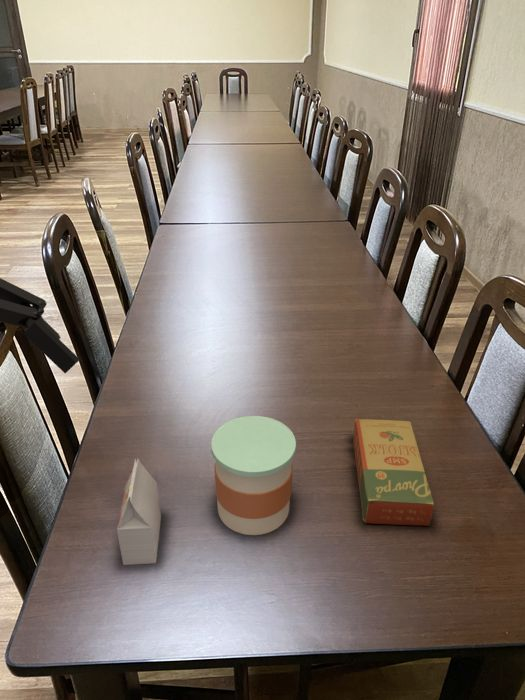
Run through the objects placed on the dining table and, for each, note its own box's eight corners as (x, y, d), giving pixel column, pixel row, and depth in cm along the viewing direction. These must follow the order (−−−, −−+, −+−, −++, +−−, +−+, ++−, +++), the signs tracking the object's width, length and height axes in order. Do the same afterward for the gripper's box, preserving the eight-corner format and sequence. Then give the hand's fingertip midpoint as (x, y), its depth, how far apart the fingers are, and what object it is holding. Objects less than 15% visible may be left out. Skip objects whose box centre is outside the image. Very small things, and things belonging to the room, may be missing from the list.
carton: (407, 442, 80) (412, 419, 78) (430, 528, 66) (437, 504, 64) (351, 439, 80) (354, 416, 78) (363, 524, 67) (367, 500, 64)
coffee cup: (202, 526, 66) (197, 460, 61) (230, 471, 74) (228, 409, 69) (280, 546, 64) (283, 480, 58) (300, 487, 72) (304, 424, 66)
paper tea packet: (161, 517, 67) (153, 457, 62) (156, 563, 62) (147, 501, 56) (131, 518, 67) (121, 458, 62) (123, 565, 61) (111, 502, 56)
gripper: (-255, 278, 41) (-39, 464, 45) (-20, 194, 62) (114, 327, 66) (-269, 328, 45) (-70, 495, 49) (-44, 233, 66) (83, 357, 70)
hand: (36, 400), depth 58 cm, fingers open, 13 cm apart
